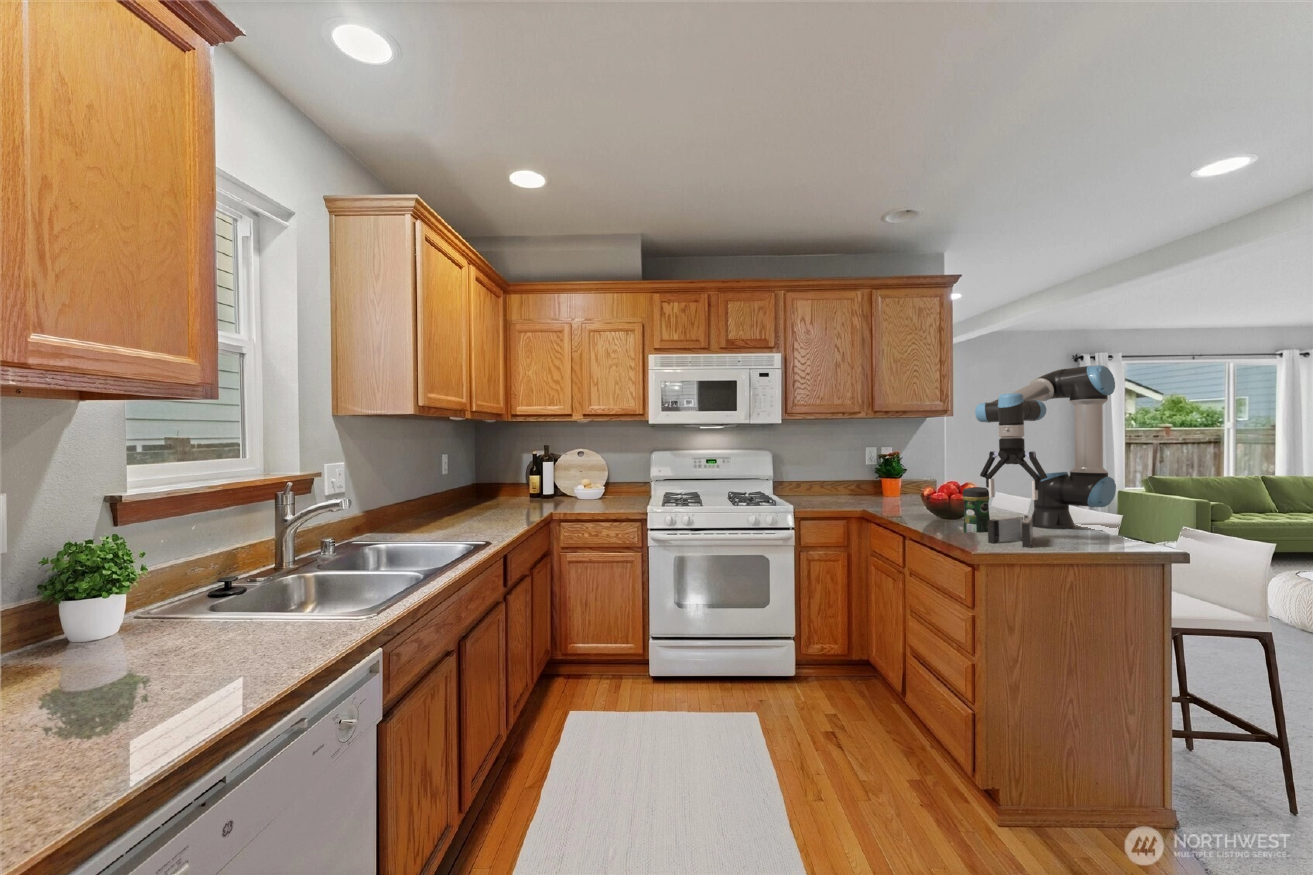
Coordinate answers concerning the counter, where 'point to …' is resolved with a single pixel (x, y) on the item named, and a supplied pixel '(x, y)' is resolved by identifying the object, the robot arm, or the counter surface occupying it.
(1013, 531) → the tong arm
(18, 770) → the counter surface
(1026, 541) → the grey flat box
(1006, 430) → the robot arm
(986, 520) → the coffee jar
